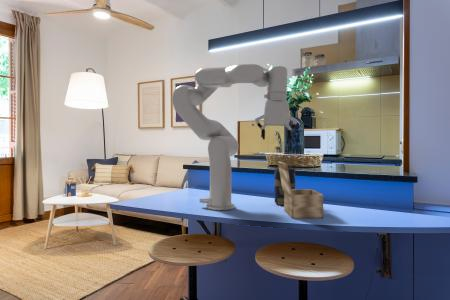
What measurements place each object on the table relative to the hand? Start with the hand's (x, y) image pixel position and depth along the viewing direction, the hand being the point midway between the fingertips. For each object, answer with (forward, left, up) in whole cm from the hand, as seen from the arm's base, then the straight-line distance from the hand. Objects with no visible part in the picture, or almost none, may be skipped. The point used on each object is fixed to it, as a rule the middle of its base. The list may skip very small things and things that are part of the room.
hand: (275, 139), depth 132 cm
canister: (+8, +18, -30) cm, 36 cm away
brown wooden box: (+11, -2, -30) cm, 32 cm away
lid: (+4, -2, -15) cm, 16 cm away
